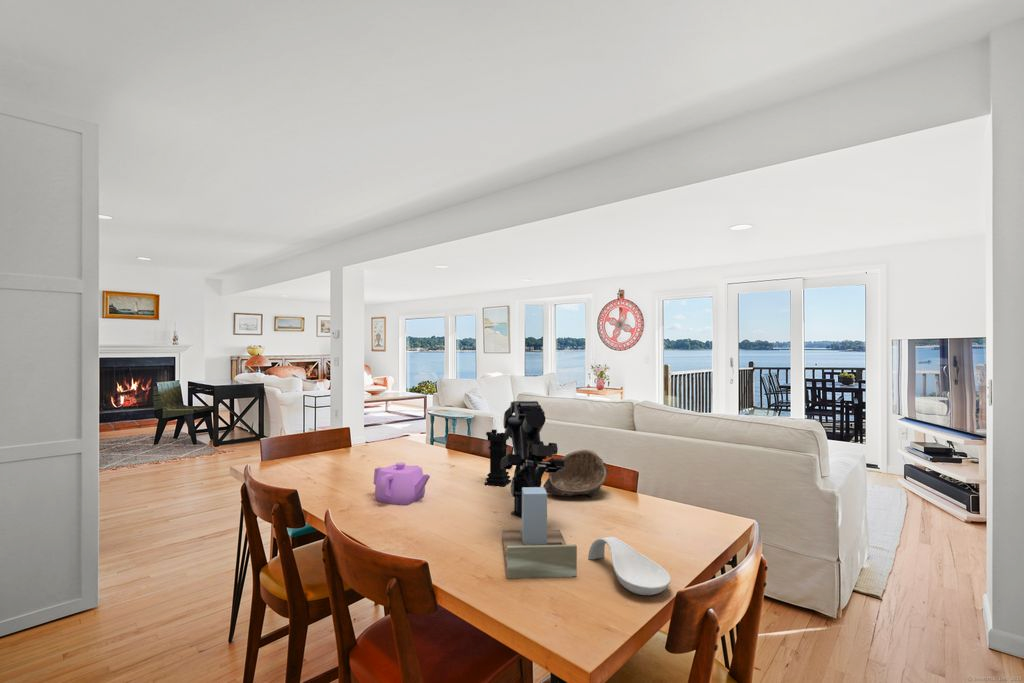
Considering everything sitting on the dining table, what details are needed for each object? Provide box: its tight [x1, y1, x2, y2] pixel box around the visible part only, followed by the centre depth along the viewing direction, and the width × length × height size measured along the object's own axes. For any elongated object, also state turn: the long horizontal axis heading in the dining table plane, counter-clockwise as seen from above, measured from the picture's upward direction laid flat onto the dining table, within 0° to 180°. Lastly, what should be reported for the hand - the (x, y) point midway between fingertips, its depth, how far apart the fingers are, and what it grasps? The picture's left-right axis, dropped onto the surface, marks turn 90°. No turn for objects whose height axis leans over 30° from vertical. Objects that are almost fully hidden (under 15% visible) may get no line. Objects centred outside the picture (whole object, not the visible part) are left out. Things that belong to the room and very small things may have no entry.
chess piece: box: [484, 429, 512, 488], centre depth 192 cm, size 8×8×20 cm
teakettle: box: [373, 462, 431, 506], centre depth 173 cm, size 17×17×12 cm
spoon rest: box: [587, 536, 672, 596], centre depth 115 cm, size 24×12×7 cm, turn 27°
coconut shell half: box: [542, 449, 610, 498], centre depth 180 cm, size 15×16×25 cm
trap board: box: [501, 529, 578, 579], centre depth 126 cm, size 24×16×7 cm, turn 4°
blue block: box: [521, 486, 548, 545], centre depth 131 cm, size 6×6×13 cm
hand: (535, 493), depth 140 cm, fingers closed
